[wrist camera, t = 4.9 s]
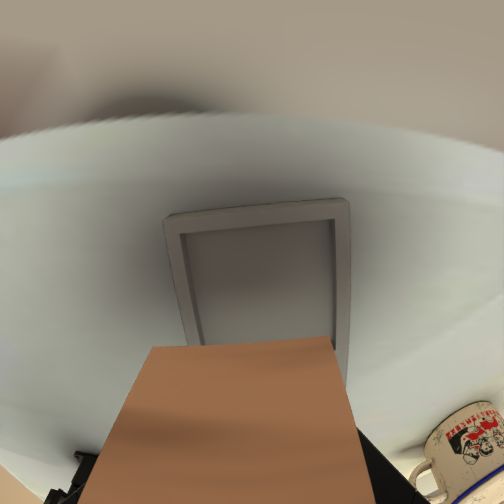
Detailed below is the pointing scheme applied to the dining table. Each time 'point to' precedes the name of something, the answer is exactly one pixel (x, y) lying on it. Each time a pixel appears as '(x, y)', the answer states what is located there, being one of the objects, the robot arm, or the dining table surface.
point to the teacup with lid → (467, 457)
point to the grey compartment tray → (264, 273)
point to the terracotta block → (234, 430)
